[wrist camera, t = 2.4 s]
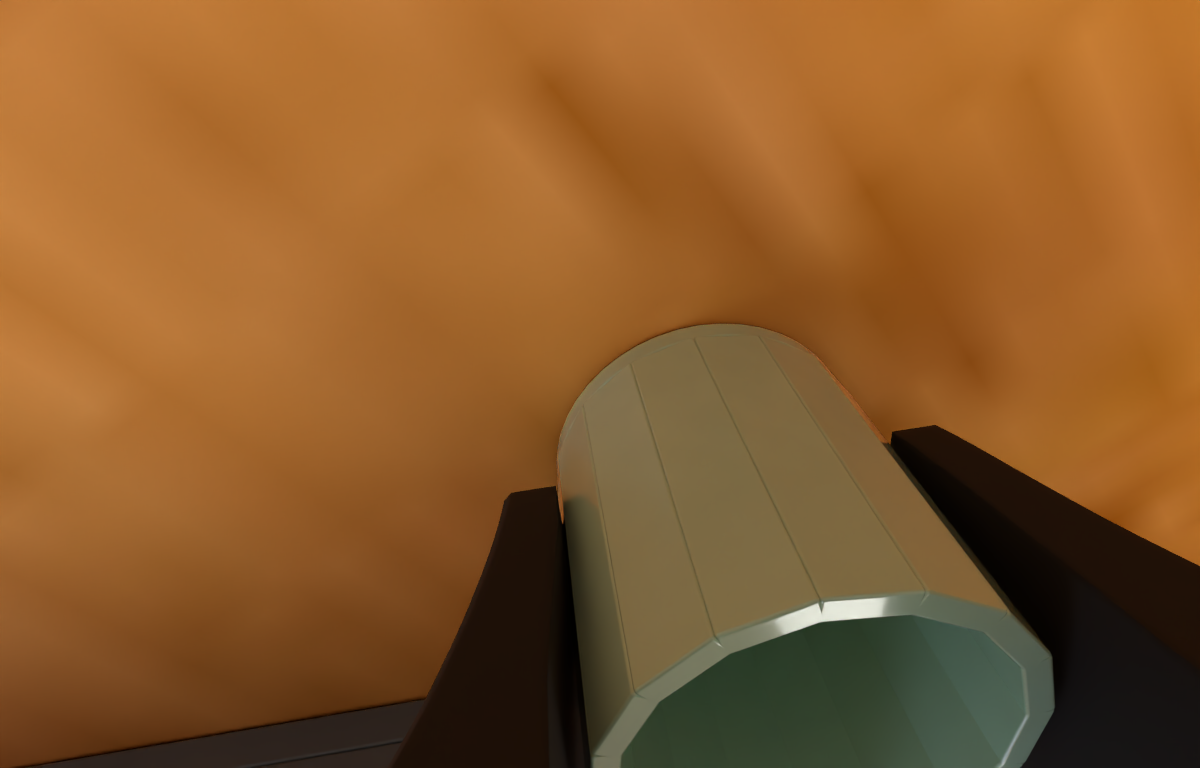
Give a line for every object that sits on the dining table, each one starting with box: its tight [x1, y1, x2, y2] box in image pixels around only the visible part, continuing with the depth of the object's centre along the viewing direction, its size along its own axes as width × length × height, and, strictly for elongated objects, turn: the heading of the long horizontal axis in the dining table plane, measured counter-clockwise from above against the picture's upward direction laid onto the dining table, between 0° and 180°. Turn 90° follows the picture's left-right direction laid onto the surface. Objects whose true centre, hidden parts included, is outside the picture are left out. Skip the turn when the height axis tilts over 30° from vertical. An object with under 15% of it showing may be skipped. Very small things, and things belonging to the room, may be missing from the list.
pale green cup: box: [556, 323, 1055, 768], centre depth 9 cm, size 5×5×5 cm
